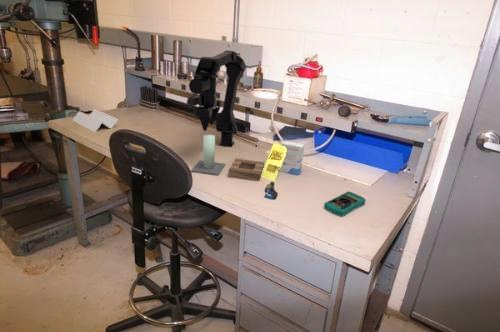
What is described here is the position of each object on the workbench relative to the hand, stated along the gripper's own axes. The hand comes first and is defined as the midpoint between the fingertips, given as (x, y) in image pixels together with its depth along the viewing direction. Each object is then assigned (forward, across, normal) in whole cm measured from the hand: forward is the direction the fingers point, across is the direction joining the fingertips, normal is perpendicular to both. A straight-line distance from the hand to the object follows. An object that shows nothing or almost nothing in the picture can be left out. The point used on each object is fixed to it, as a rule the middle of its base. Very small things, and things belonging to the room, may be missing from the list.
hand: (208, 127), depth 144 cm
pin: (+12, +12, +4) cm, 18 cm away
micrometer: (+14, +24, +31) cm, 42 cm away
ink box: (+13, +4, +36) cm, 39 cm away
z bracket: (+14, -25, -68) cm, 74 cm away
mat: (+13, +12, +4) cm, 18 cm away
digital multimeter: (+14, +28, +56) cm, 64 cm away
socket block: (+13, +12, +20) cm, 26 cm away
